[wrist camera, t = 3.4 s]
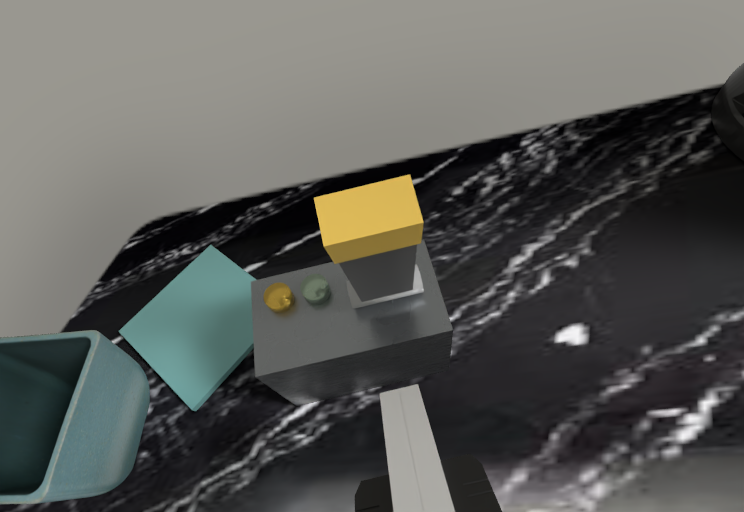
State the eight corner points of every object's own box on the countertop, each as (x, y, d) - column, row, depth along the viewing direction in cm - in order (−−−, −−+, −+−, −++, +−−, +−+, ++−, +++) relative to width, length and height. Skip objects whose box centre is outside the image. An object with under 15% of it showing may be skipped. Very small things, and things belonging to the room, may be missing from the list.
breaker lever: (422, 294, 24) (440, 218, 12) (354, 310, 24) (307, 250, 12) (415, 268, 24) (425, 170, 12) (348, 284, 24) (297, 201, 13)
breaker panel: (449, 370, 29) (453, 324, 22) (297, 406, 29) (249, 373, 22) (425, 293, 32) (422, 230, 25) (289, 325, 32) (245, 272, 25)
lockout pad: (290, 307, 33) (288, 304, 33) (196, 411, 30) (191, 409, 29) (213, 248, 37) (210, 244, 37) (123, 333, 34) (118, 331, 34)
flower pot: (76, 376, 33) (-34, 338, 25) (181, 370, 32) (100, 328, 24) (31, 506, 28) (-120, 507, 21) (152, 503, 27) (42, 503, 20)
